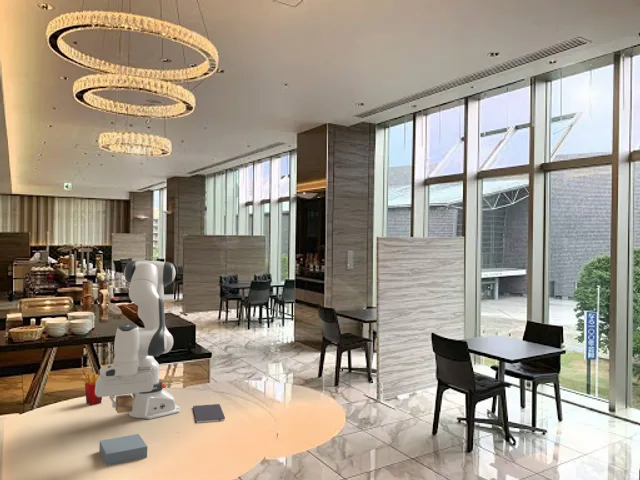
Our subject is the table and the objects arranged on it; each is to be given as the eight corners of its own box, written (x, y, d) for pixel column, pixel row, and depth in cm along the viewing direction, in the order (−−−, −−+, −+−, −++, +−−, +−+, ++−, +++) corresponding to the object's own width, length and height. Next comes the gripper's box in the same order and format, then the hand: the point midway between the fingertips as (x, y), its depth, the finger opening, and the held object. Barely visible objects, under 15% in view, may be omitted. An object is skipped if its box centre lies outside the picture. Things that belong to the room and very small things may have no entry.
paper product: (192, 409, 233) (196, 424, 213) (193, 405, 233) (196, 420, 213) (219, 407, 237) (225, 422, 217) (219, 403, 237) (225, 418, 217)
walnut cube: (129, 407, 183) (130, 394, 183) (132, 411, 179) (132, 397, 179) (115, 409, 180) (116, 395, 180) (117, 413, 176) (118, 399, 176)
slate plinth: (138, 444, 188) (138, 433, 189) (147, 457, 177) (147, 446, 177) (99, 451, 181) (99, 440, 181) (105, 465, 169) (106, 454, 169)
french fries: (96, 400, 240) (97, 370, 241) (105, 403, 236) (107, 372, 236) (79, 404, 233) (80, 373, 234) (88, 408, 228) (89, 376, 229)
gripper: (152, 364, 188) (150, 400, 188) (95, 369, 177) (93, 407, 177) (156, 367, 183) (154, 404, 182) (97, 372, 172) (95, 412, 171)
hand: (123, 405), depth 179 cm, fingers closed on walnut cube, 5 cm apart
